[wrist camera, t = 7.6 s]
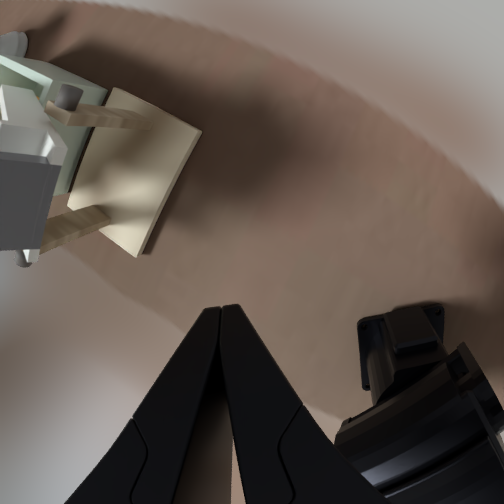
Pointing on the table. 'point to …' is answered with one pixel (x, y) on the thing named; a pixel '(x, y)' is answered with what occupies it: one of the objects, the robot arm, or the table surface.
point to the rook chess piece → (14, 44)
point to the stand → (118, 169)
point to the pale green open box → (46, 88)
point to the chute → (26, 170)
